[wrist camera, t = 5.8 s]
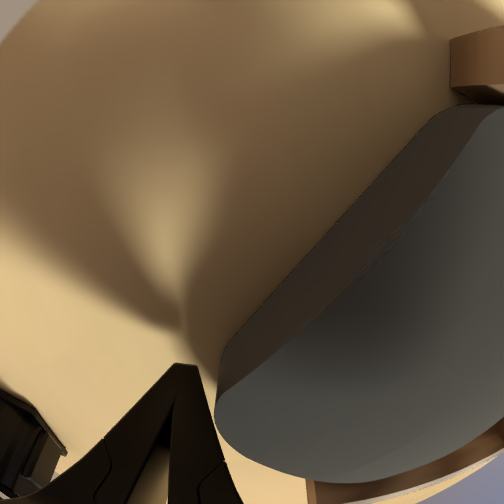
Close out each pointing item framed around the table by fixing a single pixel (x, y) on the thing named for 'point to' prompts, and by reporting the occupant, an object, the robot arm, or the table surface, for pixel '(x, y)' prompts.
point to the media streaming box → (384, 321)
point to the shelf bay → (500, 434)
